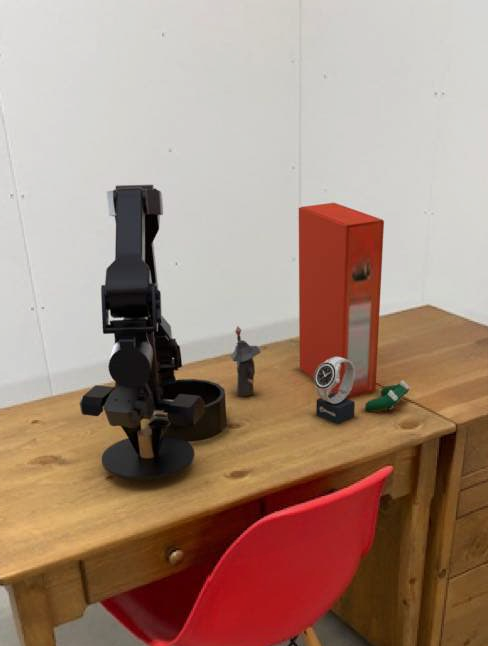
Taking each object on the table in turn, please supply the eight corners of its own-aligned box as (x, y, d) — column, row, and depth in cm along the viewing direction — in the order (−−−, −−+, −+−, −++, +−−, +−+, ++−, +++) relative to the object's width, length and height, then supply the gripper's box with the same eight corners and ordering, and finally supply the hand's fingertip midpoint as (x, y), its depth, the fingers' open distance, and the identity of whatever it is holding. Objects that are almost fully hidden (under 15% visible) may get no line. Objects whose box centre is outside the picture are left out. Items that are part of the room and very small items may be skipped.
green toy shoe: (373, 422, 148) (396, 406, 144) (361, 406, 147) (384, 389, 143) (393, 404, 154) (415, 388, 150) (381, 389, 154) (403, 372, 150)
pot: (135, 430, 142) (131, 396, 139) (188, 405, 151) (186, 373, 147) (189, 451, 135) (186, 416, 131) (242, 424, 144) (240, 391, 140)
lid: (83, 464, 127) (78, 435, 124) (151, 432, 136) (148, 404, 134) (146, 493, 119) (142, 463, 116) (213, 457, 129) (211, 428, 126)
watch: (308, 418, 146) (309, 360, 140) (339, 405, 150) (341, 349, 144) (330, 427, 142) (331, 369, 136) (361, 414, 147) (363, 357, 141)
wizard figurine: (266, 395, 155) (265, 335, 148) (242, 402, 152) (240, 341, 145) (242, 382, 160) (240, 323, 154) (219, 388, 158) (216, 329, 151)
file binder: (339, 399, 153) (345, 224, 135) (298, 369, 165) (298, 206, 148) (375, 391, 155) (385, 219, 138) (332, 363, 168) (336, 202, 151)
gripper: (54, 375, 114) (71, 471, 123) (175, 388, 110) (184, 485, 119) (90, 349, 123) (103, 439, 132) (203, 359, 119) (209, 452, 128)
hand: (148, 454), depth 127 cm, fingers closed on lid, 3 cm apart
